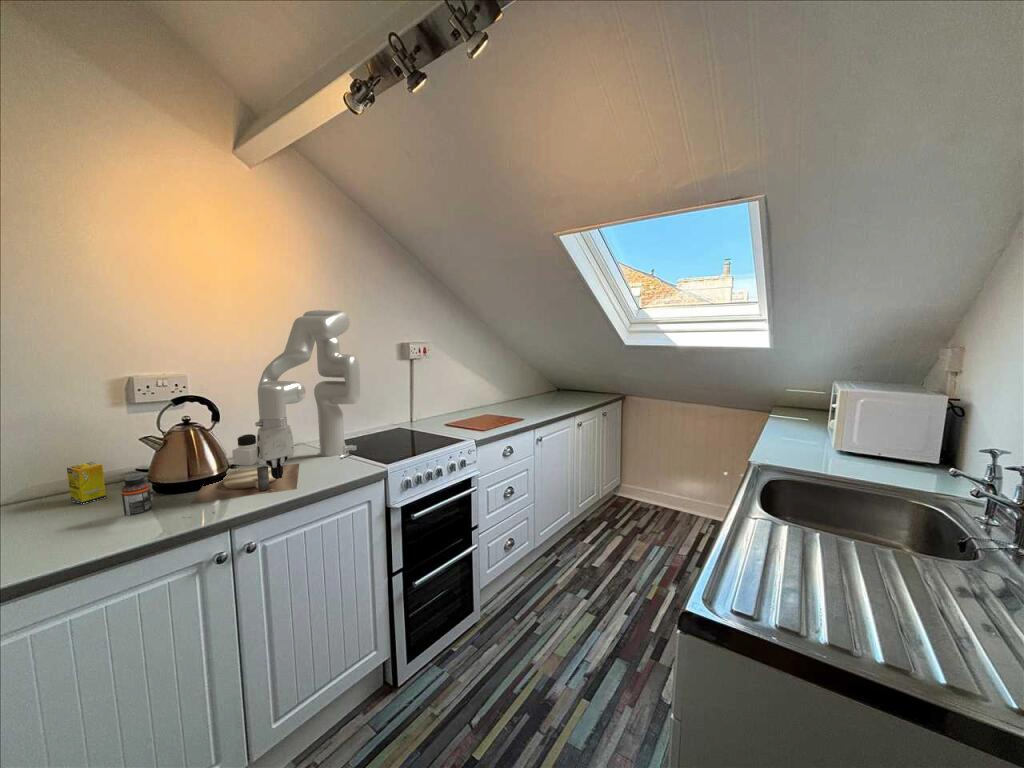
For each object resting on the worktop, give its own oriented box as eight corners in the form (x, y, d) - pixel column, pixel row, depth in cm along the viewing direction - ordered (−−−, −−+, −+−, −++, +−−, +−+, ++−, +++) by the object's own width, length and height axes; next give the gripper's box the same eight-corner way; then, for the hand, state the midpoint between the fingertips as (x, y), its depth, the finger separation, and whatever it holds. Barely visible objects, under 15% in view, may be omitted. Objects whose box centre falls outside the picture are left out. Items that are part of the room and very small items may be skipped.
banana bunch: (217, 479, 142) (215, 459, 141) (269, 468, 153) (268, 449, 152) (236, 497, 127) (234, 475, 126) (292, 483, 139) (291, 462, 138)
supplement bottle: (130, 513, 121) (125, 475, 119) (155, 509, 123) (151, 472, 121) (120, 521, 115) (115, 482, 114) (147, 518, 117) (143, 479, 116)
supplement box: (70, 502, 128) (65, 467, 126) (95, 494, 133) (91, 461, 132) (82, 505, 126) (77, 469, 124) (106, 497, 131) (102, 463, 130)
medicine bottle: (263, 463, 166) (261, 433, 164) (250, 469, 159) (248, 438, 157) (246, 462, 166) (244, 432, 165) (233, 468, 159) (230, 437, 158)
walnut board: (299, 467, 161) (299, 463, 161) (296, 493, 136) (296, 488, 136) (211, 477, 149) (211, 473, 149) (190, 508, 124) (190, 503, 124)
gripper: (254, 429, 127) (258, 487, 129) (302, 420, 139) (305, 473, 141) (242, 425, 131) (247, 482, 133) (290, 417, 143) (294, 469, 146)
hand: (277, 477), depth 137 cm, fingers closed
